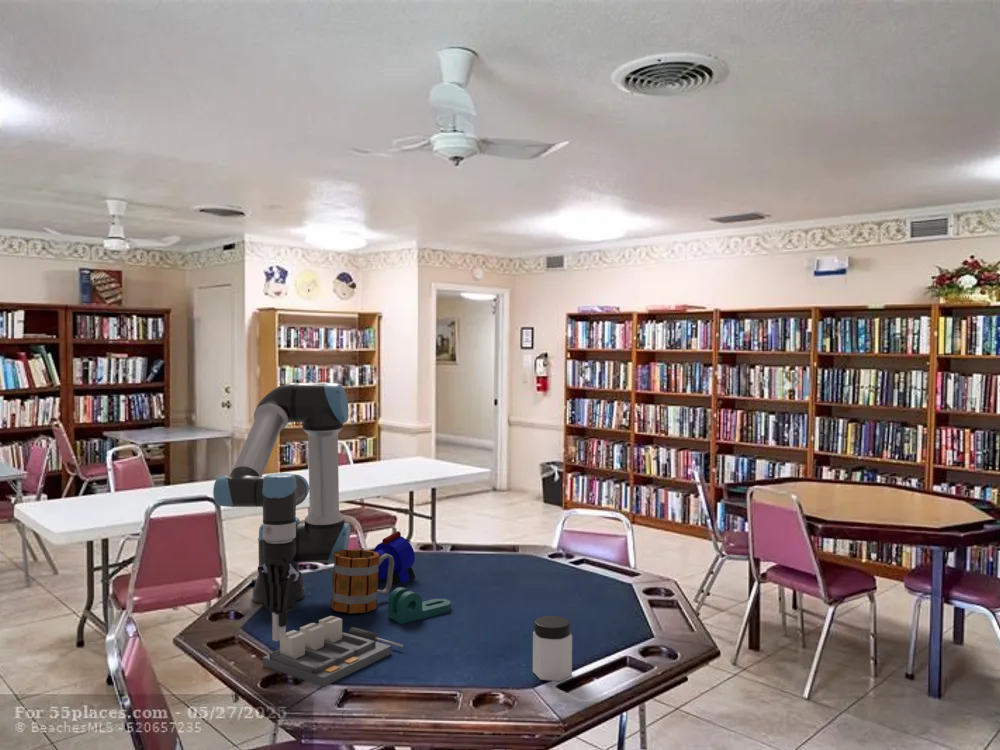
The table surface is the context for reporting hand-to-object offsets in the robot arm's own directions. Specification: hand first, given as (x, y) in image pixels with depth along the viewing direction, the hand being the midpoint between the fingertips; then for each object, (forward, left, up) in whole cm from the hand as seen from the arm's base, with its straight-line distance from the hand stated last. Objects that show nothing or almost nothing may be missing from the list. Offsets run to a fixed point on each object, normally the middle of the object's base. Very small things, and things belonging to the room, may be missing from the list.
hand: (279, 639), depth 176 cm
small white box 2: (+5, +12, -3) cm, 13 cm away
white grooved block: (+5, +6, -3) cm, 8 cm away
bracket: (+7, +45, -6) cm, 46 cm away
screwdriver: (+12, +21, -5) cm, 25 cm away
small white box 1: (+5, 0, -3) cm, 6 cm away
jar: (+57, +30, -5) cm, 65 cm away
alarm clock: (-23, +65, -6) cm, 69 cm away
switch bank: (+9, +7, -5) cm, 13 cm away
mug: (-11, +40, -5) cm, 42 cm away
